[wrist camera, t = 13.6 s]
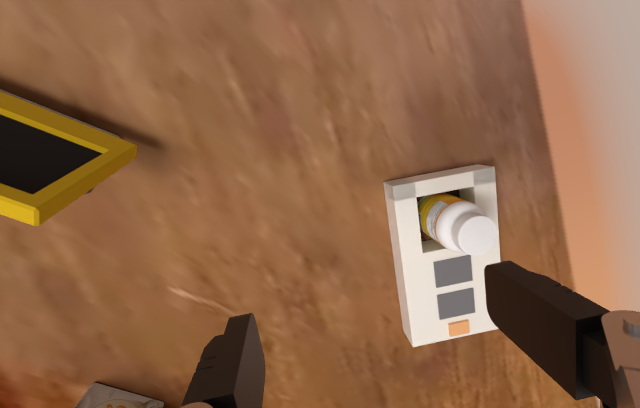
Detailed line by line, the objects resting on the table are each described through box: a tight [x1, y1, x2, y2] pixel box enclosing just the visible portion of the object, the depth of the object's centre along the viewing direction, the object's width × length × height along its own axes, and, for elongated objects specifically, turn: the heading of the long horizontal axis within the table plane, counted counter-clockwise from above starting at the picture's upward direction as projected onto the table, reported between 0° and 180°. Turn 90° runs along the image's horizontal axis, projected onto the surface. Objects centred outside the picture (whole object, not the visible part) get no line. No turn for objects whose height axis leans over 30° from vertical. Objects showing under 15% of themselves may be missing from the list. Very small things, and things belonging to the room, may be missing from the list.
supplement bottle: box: [417, 192, 498, 256], centre depth 36 cm, size 5×5×10 cm
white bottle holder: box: [383, 164, 500, 347], centre depth 40 cm, size 20×12×4 cm, turn 10°
